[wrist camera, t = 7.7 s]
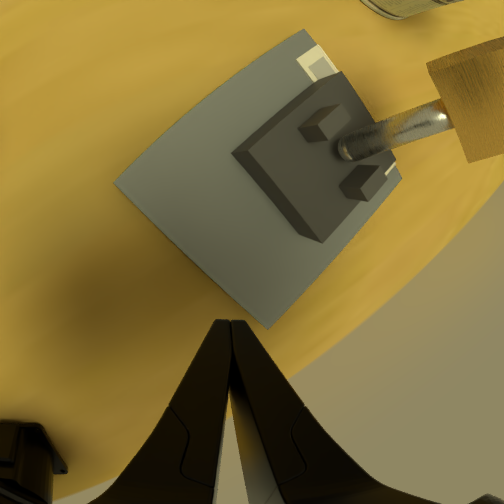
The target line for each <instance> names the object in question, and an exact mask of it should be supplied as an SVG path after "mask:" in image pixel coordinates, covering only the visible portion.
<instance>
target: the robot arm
mask: <svg viewBox="0 0 504 504" xmlns="http://www.w3.org/2000/svg"><path fill="white" fill-rule="evenodd" d="M228 393H229V394H230V401H231V408H232V414H233V420H234V425H235V431H236V437H237V443H238V448H239V454H240V459H241V464H242V470H243V475H244V480H245V486H246V490H247V495H248V501H249V504H440V503H437V502H433V501H430V500H426V499H423V498H420V497H417V496H414V495H411V494H408V493H405V492H402V491H399V490H396V489H393V488H391V487H388V486H386V485H384V484H382V483H380V482H379V481H377V480H376V479H374V478H372V476H370V475H369V474H368V473H367V472H366V471H365V470H364V469H363V468H362V467H361V466H360V465H359V464H357V463H356V462H355V461H354V460H353V459H352V458H351V457H350V456H349V455H348V454H347V453H346V452H345V451H344V450H343V449H342V448H341V447H340V446H339V445H338V444H337V443H336V442H335V441H334V440H333V439H332V438H331V436H330V435H329V434H328V433H327V432H326V431H325V430H324V429H323V427H322V426H321V425H320V424H319V422H317V420H316V419H315V418H314V416H313V415H312V414H311V412H310V411H309V409H308V408H307V407H306V406H304V403H303V402H302V400H301V399H300V397H299V396H298V395H297V393H296V392H295V391H294V389H293V388H292V386H291V385H290V384H289V382H288V381H287V379H286V378H285V377H284V375H283V374H282V372H281V371H280V370H279V368H278V367H277V365H276V364H275V363H274V361H273V360H272V358H271V357H270V355H269V354H268V353H267V351H266V350H265V348H264V347H263V345H262V344H261V343H260V341H259V340H258V338H257V337H256V335H255V334H254V333H253V331H252V330H251V328H250V327H249V325H248V324H247V322H246V321H245V320H231V321H229V320H227V319H216V320H215V321H214V322H213V324H212V326H211V328H210V330H209V331H208V333H207V335H206V337H205V339H204V341H203V342H202V344H201V346H200V348H199V350H198V351H197V353H196V355H195V357H194V359H193V361H192V362H191V364H190V366H189V368H188V370H187V372H186V373H185V375H184V377H183V379H182V381H181V382H180V384H179V386H178V388H177V390H176V392H175V393H174V395H173V397H172V399H171V401H170V403H169V404H168V406H169V407H167V408H166V409H165V411H164V413H163V415H162V417H161V418H160V420H159V422H158V423H157V425H156V427H155V428H154V430H153V432H152V433H151V435H150V436H149V437H148V439H147V440H146V442H145V443H144V444H143V446H142V447H141V449H140V450H139V451H138V452H137V454H136V455H135V456H134V458H133V459H132V460H131V461H130V463H129V464H128V465H127V467H126V468H125V469H124V470H123V472H122V473H121V474H120V475H119V477H118V478H117V479H116V480H115V482H114V483H113V484H112V485H111V486H110V487H109V488H108V489H107V490H106V491H105V492H104V493H103V494H102V495H100V496H99V497H97V498H96V499H94V500H93V501H91V502H89V503H88V504H216V498H217V490H218V480H219V471H220V463H221V454H222V445H223V437H224V429H225V420H226V412H227V403H228ZM37 429H38V430H37ZM67 473H68V468H67V466H66V465H65V463H64V462H63V460H62V459H61V457H60V456H59V454H58V452H57V451H56V449H55V448H54V446H53V444H52V443H51V441H50V439H49V438H48V436H47V434H46V432H45V431H44V429H43V427H42V426H41V425H39V424H36V423H35V424H3V423H0V504H52V492H53V474H67ZM469 504H504V501H503V500H501V499H500V498H498V497H495V496H493V495H490V494H485V495H483V496H481V497H480V498H478V499H476V500H474V501H473V502H471V503H469Z"/></svg>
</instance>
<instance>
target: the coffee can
mask: <svg viewBox="0 0 504 504" xmlns="http://www.w3.org/2000/svg"><path fill="white" fill-rule="evenodd" d="M361 1H362V2H363V3H364V4H365V5H366V6H368V7H369V8H370V9H372V10H373V11H375V12H376V13H378V14H380V15H382V16H384V17H386V18H390V19H394V20H402V19H405V18H407V17H409V16H411V15H414V14H418V13H421V12H424V11H427V10H430V9H434V8H437V7H440V6H444V5H447V4H451V3H455V2H459V1H463V0H361Z"/></svg>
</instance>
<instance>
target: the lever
mask: <svg viewBox="0 0 504 504" xmlns="http://www.w3.org/2000/svg"><path fill="white" fill-rule="evenodd" d="M426 65H427V68H428V72H429V75H430V76H431V78H432V80H433V82H434V84H435V86H436V88H437V90H438V92H439V94H440V96H441V98H440V99H437V100H434V101H432V102H429V103H426V104H423V105H421V106H418V107H415V108H412V109H410V110H407V111H405V112H402V113H399V114H397V115H394V116H392V117H389V118H386V119H384V120H381V121H379V122H376V123H374V124H371V125H369V126H367V127H364V128H362V129H359V130H357V131H354V132H352V133H350V134H347V135H345V136H343V137H342V138H341V139H340V141H339V143H338V151H339V154H340V155H341V157H342V158H343V159H344V160H346V161H349V162H357V161H360V160H362V159H365V158H368V157H371V156H374V155H376V154H379V153H382V152H385V151H388V150H390V149H393V148H396V147H399V146H402V145H405V144H408V143H410V142H413V141H416V140H419V139H422V138H425V137H428V136H431V135H434V134H437V133H440V132H443V131H446V130H449V129H453V128H455V130H456V132H457V135H458V137H459V140H460V142H461V145H462V147H463V150H464V153H465V155H466V158H467V161H468V163H471V162H475V161H478V160H482V159H486V158H489V157H493V156H496V155H500V154H504V37H500V38H497V39H494V40H491V41H487V42H484V43H481V44H478V45H475V46H472V47H469V48H466V49H463V50H460V51H457V52H454V53H452V54H449V55H446V56H443V57H441V58H438V59H435V60H433V61H430V62H427V63H426Z"/></svg>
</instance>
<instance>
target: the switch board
mask: <svg viewBox="0 0 504 504" xmlns="http://www.w3.org/2000/svg"><path fill="white" fill-rule="evenodd" d="M374 123H375V122H374V120H373V118H372V117H371V115H370V113H369V112H368V110H367V109H366V107H365V105H364V104H363V102H362V101H361V99H360V98H359V96H358V95H357V93H356V92H355V90H354V89H353V87H352V86H351V84H350V83H349V81H348V80H347V78H346V77H345V75H344V74H343V73H342V71H341V72H339V71H338V70H337V68H336V67H335V66H334V64H333V63H332V62H331V60H330V59H329V57H328V56H327V55H326V53H325V52H324V51H323V50H322V48H321V47H320V46H319V44H318V45H317V44H316V43H315V42H314V40H313V39H312V38H311V36H310V35H309V34H308V33H307V32H306V30H305V29H302V30H301V31H299V32H297V33H296V34H294V35H293V36H291V37H289V38H288V39H286V40H285V41H283V42H282V43H280V44H279V45H277V46H276V47H274V48H273V49H271V50H270V51H268V52H267V53H265V54H264V55H262V56H261V57H259V58H258V59H256V60H255V61H254V62H252V63H251V64H249V65H248V66H247V67H245V68H244V69H242V70H241V71H240V72H238V73H237V74H236V75H234V76H233V77H232V78H230V79H229V80H228V81H226V82H225V83H224V84H222V85H221V86H220V87H219V88H217V89H216V90H215V91H213V92H212V93H211V94H210V95H208V96H207V97H206V98H205V99H203V100H202V101H201V102H200V103H199V104H197V105H196V106H195V107H194V108H193V109H191V110H190V111H189V112H188V113H187V114H185V115H184V116H183V117H182V118H181V119H180V120H178V121H177V122H176V123H175V124H174V125H173V126H172V127H170V128H169V129H168V130H167V131H166V132H165V133H164V134H163V135H162V136H161V137H159V138H158V139H157V140H156V141H155V142H154V143H153V144H152V145H151V146H150V147H149V148H148V149H147V150H146V151H144V152H143V153H142V154H141V155H140V156H139V157H138V158H137V159H136V160H135V161H134V162H133V163H132V164H131V165H130V166H129V167H128V168H127V169H126V170H125V171H124V172H123V173H122V174H121V175H120V176H119V177H118V178H117V179H116V180H115V181H114V182H113V183H114V184H115V185H116V186H117V187H118V188H119V189H120V190H121V191H122V192H123V193H124V194H125V195H126V196H127V197H128V198H129V199H130V200H131V201H132V202H133V203H134V204H135V205H136V206H137V207H138V208H139V209H140V210H141V211H142V212H143V213H144V214H145V215H146V216H147V217H148V218H149V219H150V220H151V221H152V222H153V223H154V224H155V225H156V226H157V227H158V228H159V229H160V230H161V231H162V232H163V233H164V234H165V235H166V236H167V237H168V238H169V239H170V240H171V241H172V242H173V243H174V244H175V245H176V246H177V247H178V248H179V249H181V250H182V251H183V252H184V253H185V254H186V255H187V256H188V257H189V258H190V259H191V260H192V261H193V262H194V263H195V264H196V265H197V266H198V267H199V268H201V269H202V270H203V271H204V272H205V273H206V274H207V275H208V276H209V277H210V278H211V279H212V280H213V281H214V282H216V283H217V284H218V285H219V286H220V287H221V288H222V289H223V290H224V291H225V292H226V293H227V294H229V295H230V296H231V297H232V298H233V299H234V300H235V301H236V302H237V303H238V304H240V305H241V306H242V307H243V308H244V309H245V310H246V311H247V312H248V313H249V314H251V315H252V316H253V317H254V318H255V319H256V320H257V321H258V322H260V323H261V324H262V325H263V326H264V327H265V328H266V329H267V330H268V329H269V328H270V327H271V326H272V325H273V324H274V323H275V322H276V321H277V320H278V319H279V318H280V317H281V316H282V315H283V314H284V313H285V312H286V311H287V310H288V309H289V308H290V306H291V305H292V304H293V303H294V302H295V301H296V300H297V299H298V298H299V297H300V296H301V295H302V294H303V293H304V292H305V290H306V289H307V288H308V287H309V286H310V285H311V284H312V283H313V282H314V281H315V280H316V279H317V277H318V276H319V275H320V274H321V273H322V272H323V271H324V270H325V269H326V267H327V266H328V265H329V264H330V263H331V262H332V261H333V260H334V259H335V257H336V256H337V255H338V254H339V253H340V252H341V251H342V250H343V248H344V247H345V246H346V245H347V244H348V243H349V242H350V240H351V239H352V238H353V237H354V236H355V235H356V233H357V232H358V231H359V230H360V229H361V228H362V226H363V225H364V224H365V223H366V222H367V221H368V219H369V218H370V217H371V216H372V215H373V213H374V212H375V211H376V210H377V209H378V207H379V206H380V205H381V204H382V203H383V201H384V200H385V199H386V198H387V197H388V195H389V194H390V193H391V192H392V190H393V189H394V188H395V187H396V185H397V184H398V183H399V182H400V181H401V179H402V177H401V175H400V173H399V171H398V169H397V168H396V166H395V165H396V163H395V161H396V159H395V157H394V155H393V153H392V151H391V149H390V150H388V151H385V152H382V153H379V154H376V155H374V156H371V157H368V158H365V159H362V160H360V161H357V162H349V161H346V160H344V159H343V158H342V157H341V155H340V154H339V151H338V143H339V141H340V139H341V138H342V137H343V136H345V135H347V134H350V133H352V132H354V131H357V130H359V129H362V128H364V127H367V126H369V125H371V124H374Z"/></svg>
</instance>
